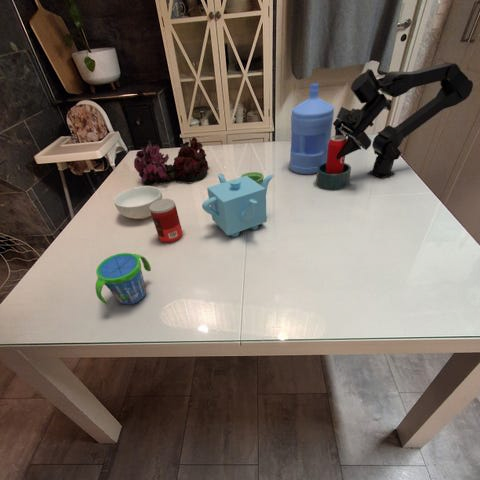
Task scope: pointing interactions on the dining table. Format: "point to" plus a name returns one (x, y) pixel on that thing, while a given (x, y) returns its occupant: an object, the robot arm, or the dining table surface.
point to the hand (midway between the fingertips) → (332, 155)
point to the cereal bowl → (137, 201)
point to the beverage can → (333, 149)
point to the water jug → (310, 133)
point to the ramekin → (255, 176)
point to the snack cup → (122, 277)
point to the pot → (332, 178)
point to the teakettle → (237, 204)
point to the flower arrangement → (183, 170)
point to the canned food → (166, 220)
